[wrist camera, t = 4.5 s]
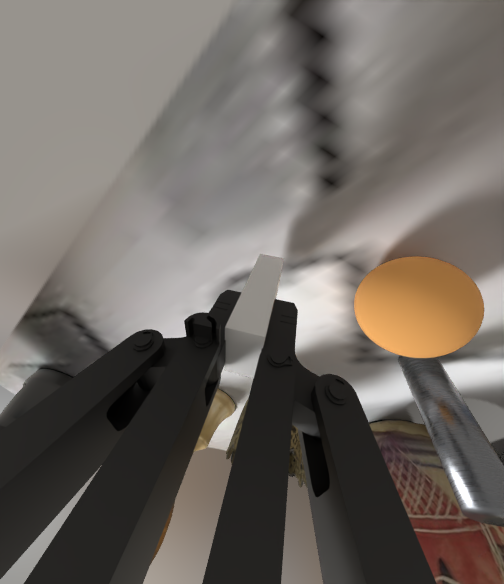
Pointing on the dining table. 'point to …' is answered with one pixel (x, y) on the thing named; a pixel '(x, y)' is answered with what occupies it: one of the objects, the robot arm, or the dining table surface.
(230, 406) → the hand bell
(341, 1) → the dining table surface
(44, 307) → the dining table surface
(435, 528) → the ceramic jug
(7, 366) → the dining table surface
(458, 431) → the gate post
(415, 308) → the ball
